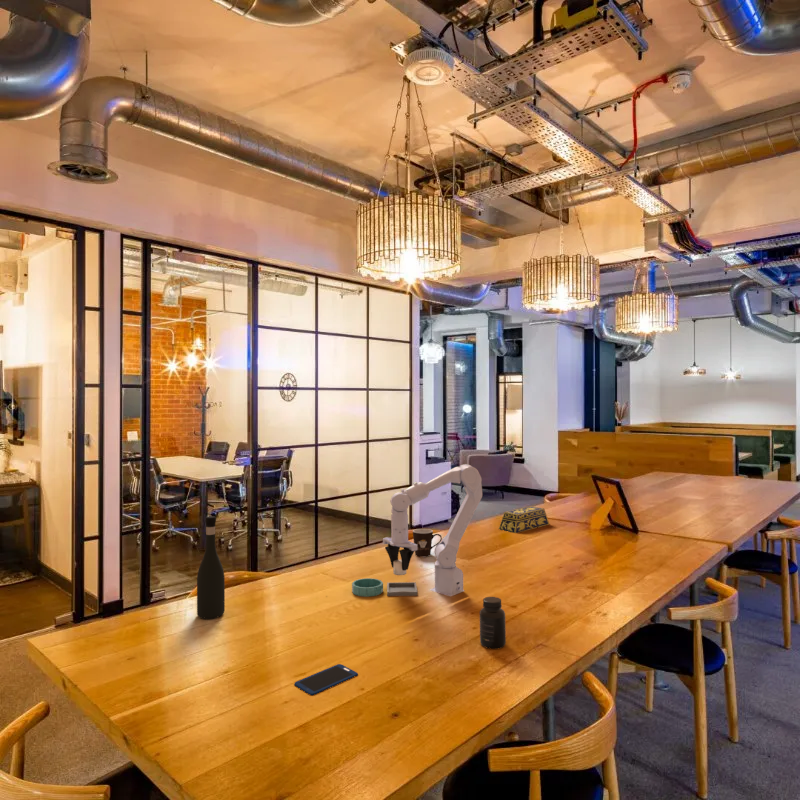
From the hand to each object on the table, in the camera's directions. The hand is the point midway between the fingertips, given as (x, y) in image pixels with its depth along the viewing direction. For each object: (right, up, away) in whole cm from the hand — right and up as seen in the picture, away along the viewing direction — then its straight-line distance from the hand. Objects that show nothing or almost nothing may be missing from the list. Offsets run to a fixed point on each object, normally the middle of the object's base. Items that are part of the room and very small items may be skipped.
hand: (399, 568), depth 195 cm
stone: (0, -2, 0) cm, 2 cm away
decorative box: (+64, -9, +100) cm, 119 cm away
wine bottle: (-58, -9, -20) cm, 62 cm away
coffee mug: (+11, -8, +47) cm, 49 cm away
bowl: (-11, -8, -1) cm, 14 cm away
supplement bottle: (+25, -8, -41) cm, 49 cm away
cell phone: (-17, -9, -61) cm, 63 cm away
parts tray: (+1, -8, 0) cm, 8 cm away
